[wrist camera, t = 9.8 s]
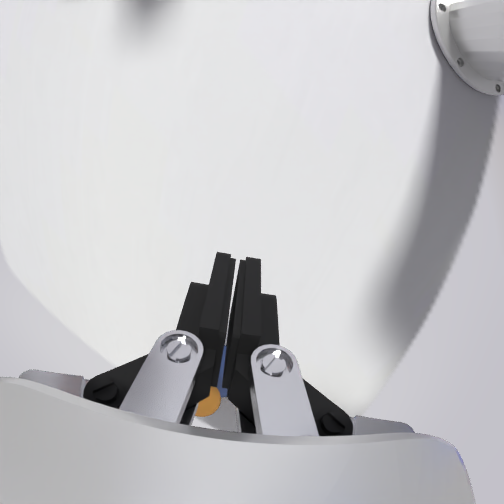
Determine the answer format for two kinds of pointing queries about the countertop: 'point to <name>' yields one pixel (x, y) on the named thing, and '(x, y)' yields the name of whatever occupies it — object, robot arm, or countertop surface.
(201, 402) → the ball
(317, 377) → the countertop surface
